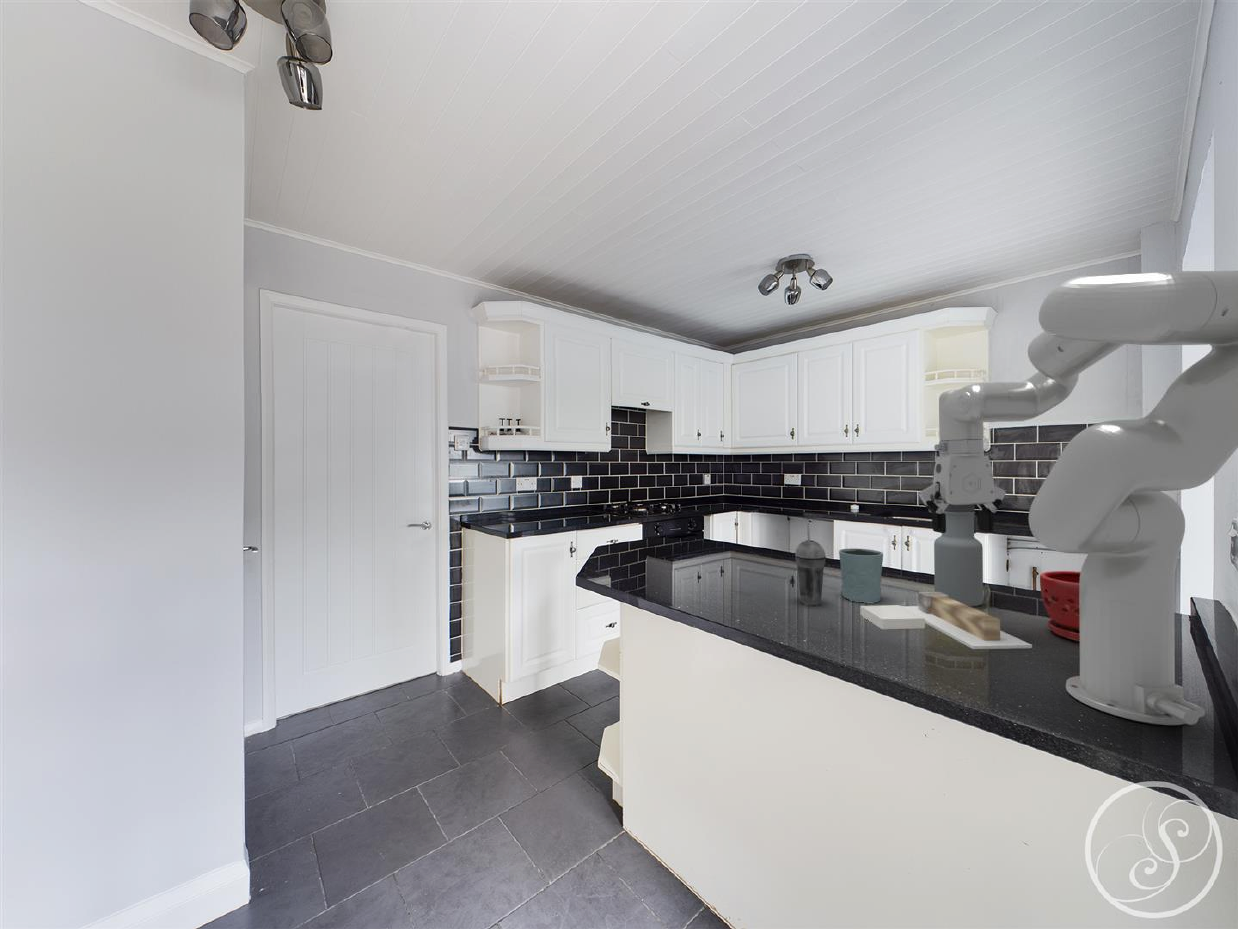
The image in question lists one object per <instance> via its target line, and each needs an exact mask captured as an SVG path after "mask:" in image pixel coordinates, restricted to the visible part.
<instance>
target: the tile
mask: <svg viewBox="0 0 1238 929" xmlns="http://www.w3.org/2000/svg"><path fill="white" fill-rule="evenodd" d="M859 610H860V613H859V614H860V616H861V615H862V616H863V617H862V616H861V617H862V618H864V619H865V620H867V619H868V620H869V622H870V623H871V622H872V624H873V625H875V626H876V627H878V628H880V629H881V630H915V629H918V630H919V629H926V623H925V618H923V617H921V616H919V615H918V614H916V613H914V612H912V611H910V610H908V609H906V608H904V607H902V605H900V604H893V605H890V604H889V605H860V609H859ZM868 620H867V621H868Z"/></svg>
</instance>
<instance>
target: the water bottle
mask: <svg viewBox="0 0 1238 929" xmlns="http://www.w3.org/2000/svg"><path fill="white" fill-rule="evenodd" d="M975 505H976V504H966V505H954V504H949V505H948V506H947V507H946V509H945V510H944V511H943V514H945V515H946V532H945V533H941V535H940V536H939V537H937V538H936V539H935V540H934V543H933V558H934V559H933V560H934V563H933V565H934V566H933V567H934V572H933V573H934V574H933V575H934V579H933V580H934V592H941V593H944V594H946V595H948V596H949V598H951V599H953V600H955V601H958V602H960V603H962V604H965V605H967V606H969V607H972V608H974V607H978V606H981V605H982V604H983V603H984V569H983V568H984V567H983V566H984V562H983V561H984V558H983V556H984V555H983V554H984V551H983V550H984V549H983V544H982V543H981V541H980V540H979V539H977V538H975V534H976V533H978V517H977V515H975V514H976V510H975Z"/></svg>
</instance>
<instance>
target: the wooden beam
mask: <svg viewBox="0 0 1238 929" xmlns="http://www.w3.org/2000/svg"><path fill="white" fill-rule="evenodd" d="M917 606H918V610H920V611H922V612H924V613H926V614H933V615H935V616H937V617H939V618H941V619H943V620H945V621H946V622H948V623H950V624H952V625H954V626H956V627H958V628H960V629H962V630H964V631H966V632H968V633H970V634H972V635H974V636H976V637H978V638H980V639H982V640H984V641H995V640H1000V631H1001V619H1000V618H997V617H995V616H992V615H990V614H988V613H986V612H983V611H981V610H978V609H976V608H974V607H969V606H967V605H965V604H962V603H960V602H958V601H955V600H953V599H951V598H949V596H948V595H946V594H944V593H941V592H935V591H923V592H921V591H920V592H918V593H917Z"/></svg>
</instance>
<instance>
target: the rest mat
mask: <svg viewBox="0 0 1238 929" xmlns="http://www.w3.org/2000/svg"><path fill="white" fill-rule="evenodd" d="M901 606H902V605H901ZM902 607H904V608H906V609H908V610H910V611H912V612H914V613H916V614H918V615H919V616H921V617H923V618H925V625H927V626H929V627H932V628H933V629H935V630H937V631H938V632H940V633H942V634H944V635H947V636H948V637H950V638H952V639H953V640H955V641H956V642H959V643H960V644H963V645H964V646H966V647H968V648H970V649H971V650H1004V649H1005V650H1008V649H1011V650H1012V649H1013V650H1014V649H1032V648H1033V644H1032V643H1031V644H1030V643H1028V642H1026V641H1024V640H1022V639H1020V638H1018V637H1016V636H1013V635H1011V634H1008V633H1006V632H1005V631H1003V630H1000V640H995V641H984V640H982V639H980V638H978V637H976V636H974V635H972V634H970V633H968V632H966V631H964V630H962V629H960V628H958V627H956V626H954V625H952V624H950V623H948V622H946V621H945V620H943V619H941V618H939V617H937V616H935V615H933V614H926V613H924V612H922V611H920V610H918V605H911V606H910V605H909V606H908V605H907V606H906V605H905V606H902Z"/></svg>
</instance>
